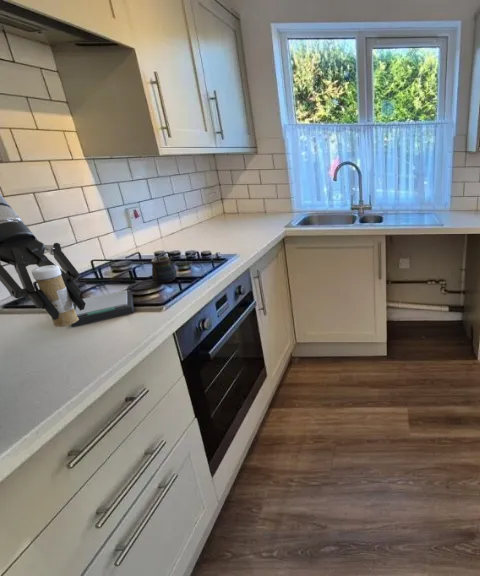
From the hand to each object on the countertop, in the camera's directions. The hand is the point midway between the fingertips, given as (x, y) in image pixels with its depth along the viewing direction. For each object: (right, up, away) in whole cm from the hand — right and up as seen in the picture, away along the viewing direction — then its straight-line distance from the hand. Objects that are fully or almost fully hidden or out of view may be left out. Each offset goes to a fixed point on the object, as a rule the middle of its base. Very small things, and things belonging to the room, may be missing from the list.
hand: (70, 311), depth 80 cm
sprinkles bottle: (-3, -3, +3) cm, 5 cm away
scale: (-12, -1, +25) cm, 28 cm away
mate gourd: (-6, +7, +45) cm, 46 cm away
